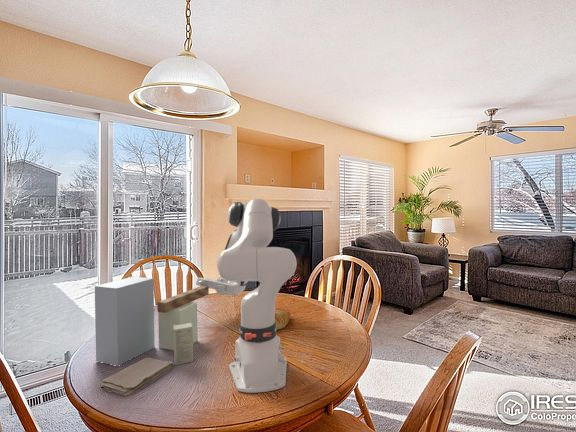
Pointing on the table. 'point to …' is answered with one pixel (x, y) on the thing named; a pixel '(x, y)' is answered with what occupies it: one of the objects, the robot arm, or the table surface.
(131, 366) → the washcloth
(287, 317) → the croissant
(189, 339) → the skincare box
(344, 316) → the table surface
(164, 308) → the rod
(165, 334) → the step block
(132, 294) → the shelf stand
